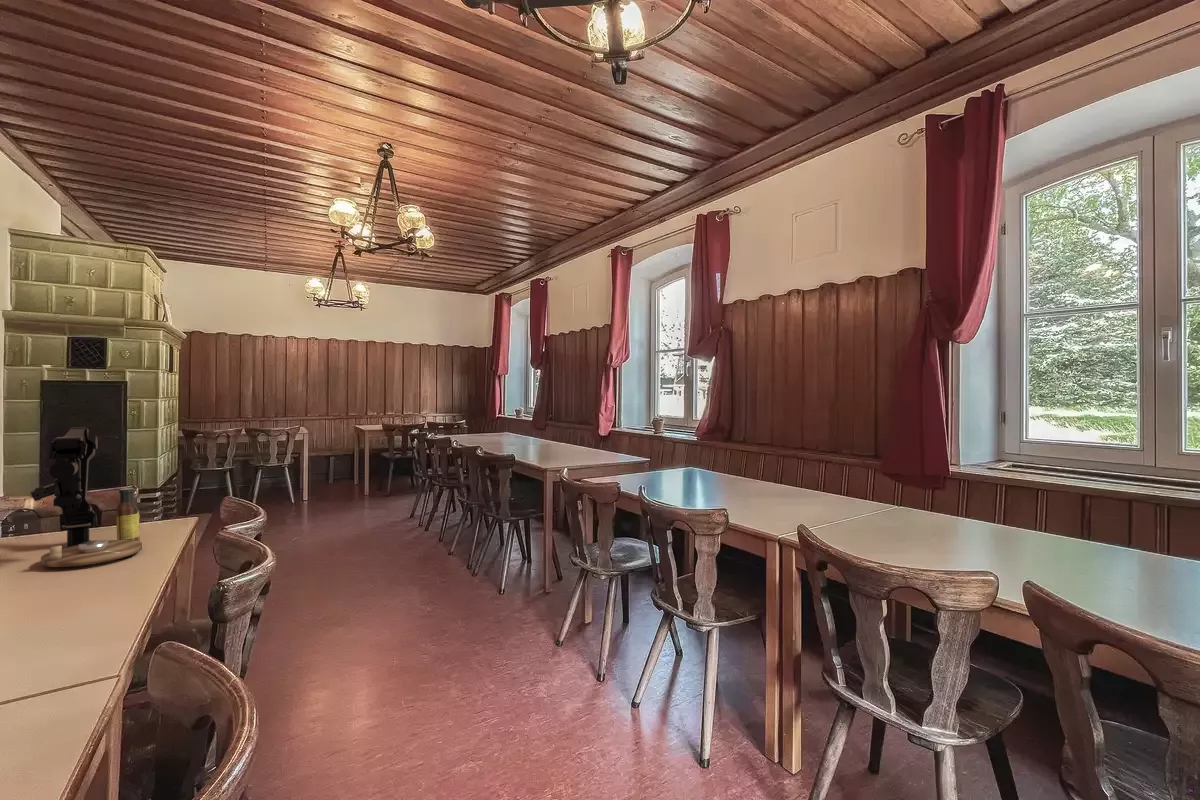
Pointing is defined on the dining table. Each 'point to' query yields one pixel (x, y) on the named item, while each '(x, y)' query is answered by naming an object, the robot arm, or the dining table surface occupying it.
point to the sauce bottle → (127, 516)
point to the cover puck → (93, 546)
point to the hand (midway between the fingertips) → (68, 522)
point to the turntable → (89, 554)
